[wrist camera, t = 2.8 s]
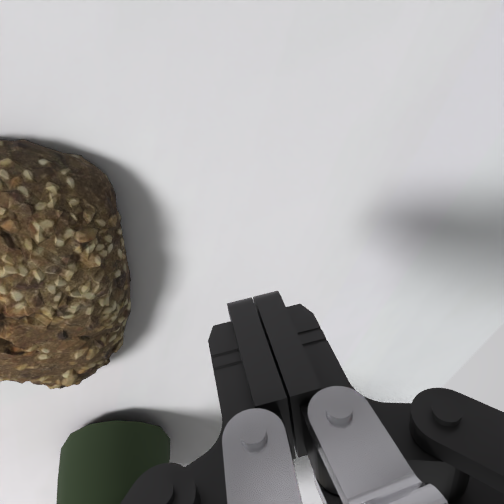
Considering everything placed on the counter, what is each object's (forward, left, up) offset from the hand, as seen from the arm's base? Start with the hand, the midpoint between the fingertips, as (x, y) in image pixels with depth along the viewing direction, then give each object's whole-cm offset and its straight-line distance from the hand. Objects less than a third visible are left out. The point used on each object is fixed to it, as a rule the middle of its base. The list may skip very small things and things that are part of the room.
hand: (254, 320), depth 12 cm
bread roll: (+11, +1, -9) cm, 14 cm away
